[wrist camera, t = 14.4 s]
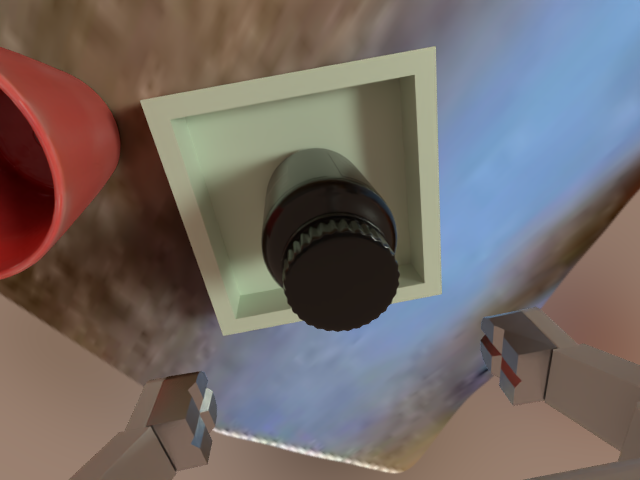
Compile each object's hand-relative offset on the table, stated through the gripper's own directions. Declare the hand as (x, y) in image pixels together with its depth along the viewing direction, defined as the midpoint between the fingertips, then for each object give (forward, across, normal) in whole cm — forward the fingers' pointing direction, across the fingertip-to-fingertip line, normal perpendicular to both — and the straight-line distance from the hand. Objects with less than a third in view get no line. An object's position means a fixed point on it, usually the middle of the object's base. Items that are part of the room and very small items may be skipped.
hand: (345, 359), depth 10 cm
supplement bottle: (+16, 0, 0) cm, 16 cm away
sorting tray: (+17, 0, 0) cm, 17 cm away
